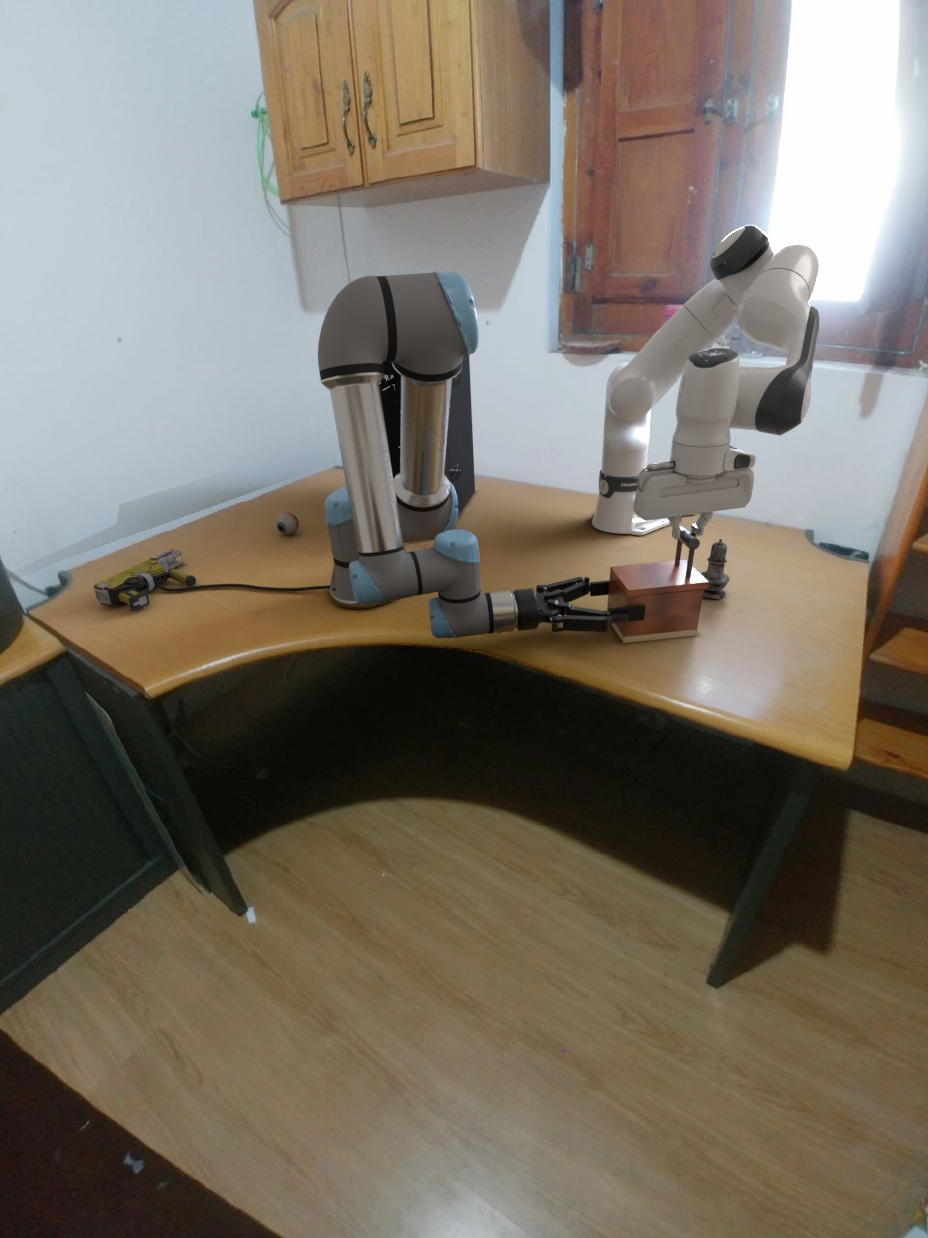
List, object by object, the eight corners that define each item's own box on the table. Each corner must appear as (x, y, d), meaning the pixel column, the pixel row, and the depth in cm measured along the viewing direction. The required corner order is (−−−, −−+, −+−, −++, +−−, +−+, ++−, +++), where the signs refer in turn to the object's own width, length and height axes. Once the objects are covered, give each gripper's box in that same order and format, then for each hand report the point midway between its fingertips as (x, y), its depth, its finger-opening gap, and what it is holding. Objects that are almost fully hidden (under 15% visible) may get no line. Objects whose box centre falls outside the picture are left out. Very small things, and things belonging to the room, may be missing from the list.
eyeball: (273, 537, 164) (268, 516, 161) (287, 528, 169) (282, 508, 166) (291, 539, 161) (286, 518, 158) (305, 530, 166) (301, 510, 163)
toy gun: (219, 557, 146) (169, 546, 150) (142, 598, 126) (87, 585, 129) (222, 574, 148) (172, 563, 152) (147, 618, 128) (92, 604, 132)
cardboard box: (444, 537, 157) (431, 349, 135) (371, 534, 162) (346, 352, 139) (475, 491, 189) (468, 332, 166) (413, 489, 193) (398, 335, 171)
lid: (684, 565, 114) (690, 521, 110) (708, 588, 106) (715, 541, 101) (609, 573, 113) (613, 528, 109) (627, 596, 105) (632, 550, 100)
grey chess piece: (729, 600, 121) (739, 544, 115) (698, 598, 122) (707, 543, 116) (724, 586, 126) (734, 533, 120) (694, 585, 127) (703, 532, 121)
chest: (674, 609, 119) (680, 566, 114) (696, 635, 111) (704, 589, 106) (606, 616, 118) (609, 573, 113) (623, 643, 110) (627, 597, 105)
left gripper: (504, 600, 121) (612, 589, 122) (526, 661, 102) (654, 648, 103) (503, 566, 117) (615, 555, 119) (526, 623, 98) (659, 609, 99)
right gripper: (648, 470, 95) (640, 551, 101) (765, 456, 98) (749, 535, 105) (630, 460, 100) (624, 537, 107) (741, 446, 103) (728, 522, 110)
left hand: (633, 598), depth 111 cm, fingers closed on chest, 10 cm apart
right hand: (687, 536), depth 106 cm, fingers closed on lid, 2 cm apart
